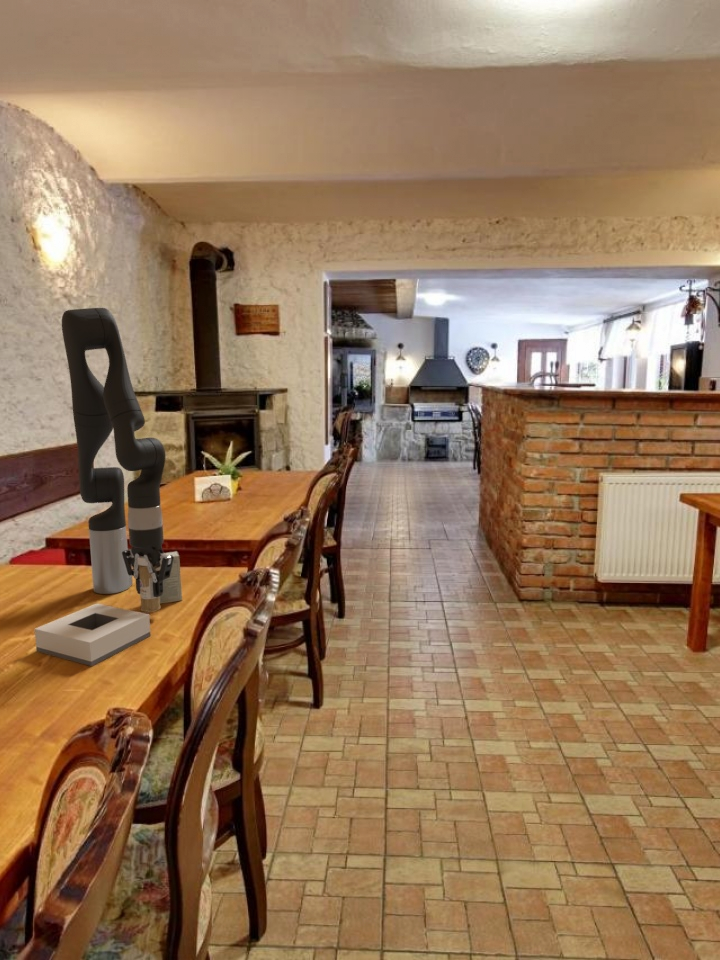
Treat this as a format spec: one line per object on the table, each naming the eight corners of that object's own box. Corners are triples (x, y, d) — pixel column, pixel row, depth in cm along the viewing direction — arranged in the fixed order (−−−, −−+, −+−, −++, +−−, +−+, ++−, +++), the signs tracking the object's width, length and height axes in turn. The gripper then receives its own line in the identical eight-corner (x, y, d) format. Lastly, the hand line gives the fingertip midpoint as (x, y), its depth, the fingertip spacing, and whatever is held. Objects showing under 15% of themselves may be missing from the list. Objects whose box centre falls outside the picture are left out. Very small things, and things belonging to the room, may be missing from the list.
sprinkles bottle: (137, 609, 143) (133, 555, 141) (154, 604, 147) (150, 551, 144) (147, 614, 140) (144, 559, 138) (165, 609, 144) (161, 554, 142)
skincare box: (180, 595, 159) (178, 550, 157) (182, 601, 155) (180, 555, 153) (155, 598, 157) (152, 553, 155) (156, 604, 153) (154, 558, 151)
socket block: (98, 623, 141) (96, 603, 140) (150, 635, 134) (149, 614, 133) (36, 651, 127) (34, 628, 126) (91, 666, 120) (89, 642, 119)
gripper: (181, 524, 140) (184, 593, 144) (134, 517, 146) (138, 585, 149) (158, 531, 134) (162, 604, 137) (110, 524, 139) (114, 595, 142)
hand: (149, 594), depth 143 cm, fingers closed on sprinkles bottle, 4 cm apart
